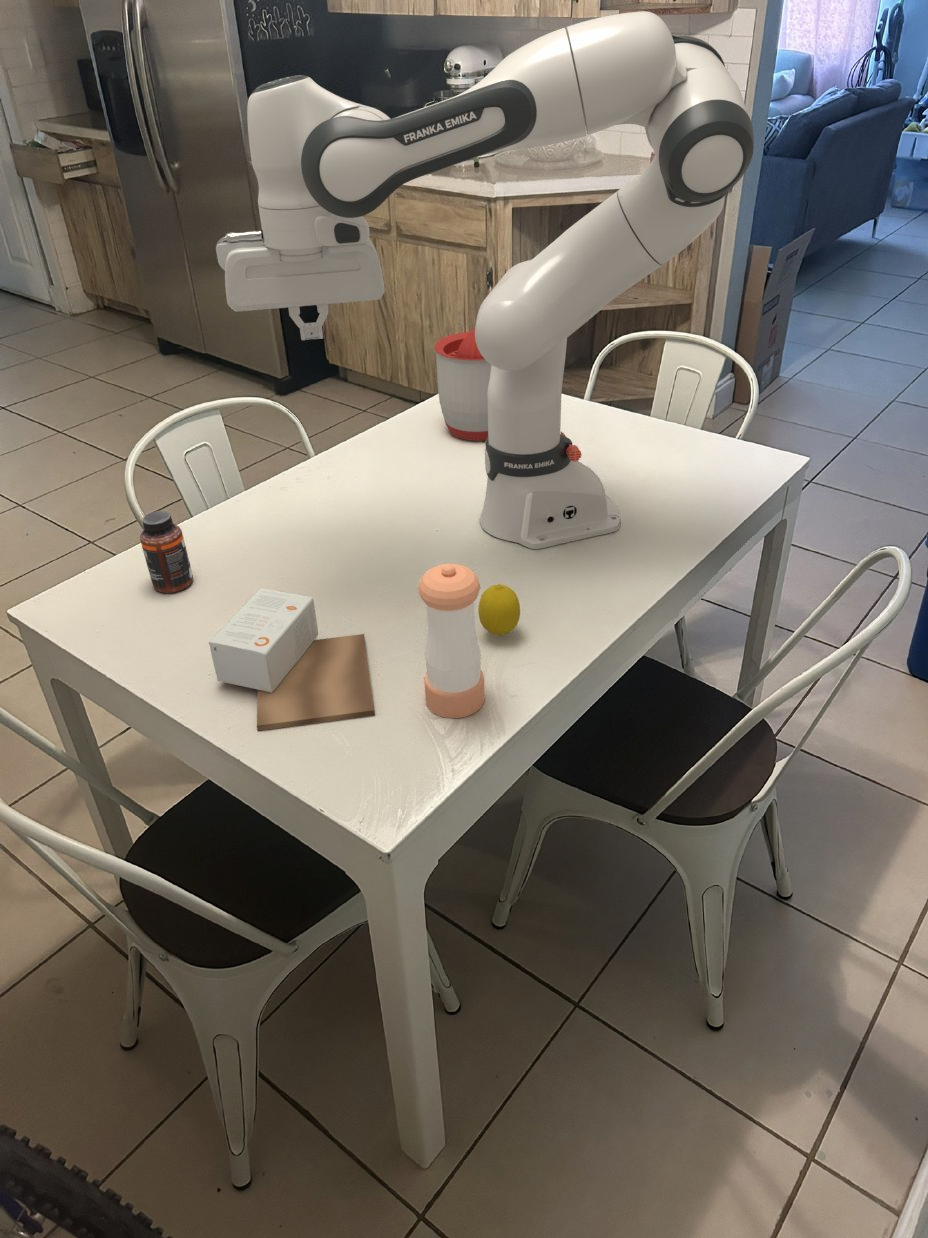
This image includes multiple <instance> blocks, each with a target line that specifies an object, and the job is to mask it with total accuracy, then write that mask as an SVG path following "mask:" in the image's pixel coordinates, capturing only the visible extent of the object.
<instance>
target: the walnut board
mask: <svg viewBox="0 0 928 1238" xmlns="http://www.w3.org/2000/svg"><path fill="white" fill-rule="evenodd" d="M365 638H366V637H365V633H360V634H351V635H344V636H337V637H329V638H327V637H326V638H321V639H315V640H314V641H313V642H312V644H311V645H310V646H309V647H308V649H307V650H306V651H305V653H304V654H303V655H302V656H301V658H300V659H299V660H298V661H297V662H296V664H295V665H294V666H293V667H292V669H291V670H290V671H289V672H288V674H287V675H286V676H285V678H284V679H283V680H282V681H281V682H280V684H279V685H278V686H277V687H276V689H275V690H274V691H273V692H272V693H271V692H266V691H261V690H257V702H256V703H257V705H256V728H257V732H258V731H261V732H262V731H266V730H267V731H268V730H275V729H282V728H283V729H284V728H288V727H297V726H305V725H311V724H316V723H318V724H320V723H326V722H334V721H340V720H348V719H349V720H350V719H356V718H365V717H370V716H371V717H372V716H375V715H376V714H375V706H374V700H373V692H372V682H371V677H370V675H371V674H370V668H369V667H370V666H369V660H368V653H367V646H366V639H365Z"/></svg>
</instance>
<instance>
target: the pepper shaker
mask: <svg viewBox="0 0 928 1238" xmlns="http://www.w3.org/2000/svg"><path fill="white" fill-rule="evenodd" d="M417 590H418V591H417V592H418V594H419V596H420V598H421V600H422V601H423V603H424V604H425V605H426V617H427V620H426V621H427V634H426V641H425V650H424V657H425V658H424V660H425V667H426V672H425V674H424V677H423V680H424V682H423V683H424V695H425V704H426V707H427V708H428V709H429V711H431V712H432V713H433V714H435V715H437V716H440V717H441V718H442V717H443V718H448V719H461V718H465V717H469V716H472V715H473V714H475V713H477V711H479V710H480V709H481V708H482V706H483V705H484V702H485V699H486V698H485V677H484V671H482V667H481V663H482V661H481V658H482V657H481V656H482V654H481V649H480V644H479V640H478V635H477V630H476V621H475V601H476V600H477V598H478V597H479V593H480V591H481V583H480V579H479V577H478V576H477V575H476V574H475V572H473V570H472V569H471V568H469V567H467V566H466V565H462V564H458V563H444V564H443V563H442V564H438V565H435V566H433V567H431V568H428V570H427V571H425V572H424V573H423V575H422V576H421V577H420V580H419V582H418V586H417Z"/></svg>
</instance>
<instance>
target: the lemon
mask: <svg viewBox="0 0 928 1238" xmlns="http://www.w3.org/2000/svg"><path fill="white" fill-rule="evenodd" d="M477 612H478V618H479V622H480V624H481V625H482V627H483V629H485V631H486V632H488V633H490V634H492V635H493V636H495V635H496V636H498V635H499V636H498V637H501V636H504V635H507V634H509V633H511V632H512V631H513V630H514V629H515V628H516V627H517V626H518V624H519V621H520V617H521V605H520V601H519V597H518V596H517V594H516V592H515V591H514V589H513V588H511V587H510V586H507V585H504V584H494V585H492V586H489V587H487V588H486V589H485V590H484V591H483V592H482V594H481V595H480V598H479V602H478V609H477Z"/></svg>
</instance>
